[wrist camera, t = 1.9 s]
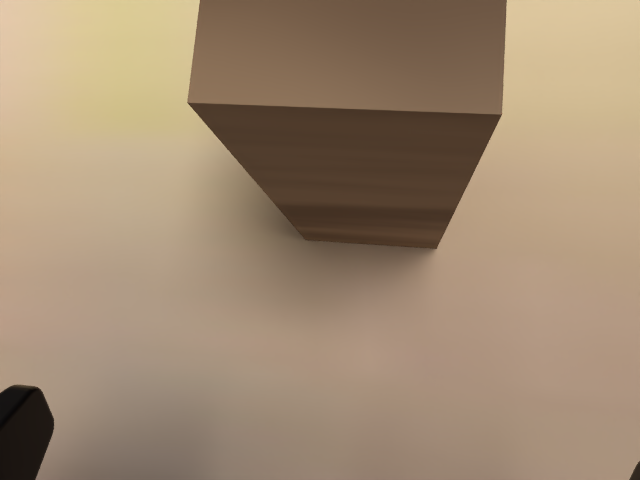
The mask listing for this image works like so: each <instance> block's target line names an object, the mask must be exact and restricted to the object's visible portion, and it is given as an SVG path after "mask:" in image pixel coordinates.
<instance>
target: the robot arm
mask: <svg viewBox="0 0 640 480" xmlns="http://www.w3.org/2000/svg"><path fill="white" fill-rule="evenodd" d="M53 430H54V418H53V416H52V413H51V411H50V409H49V406H48V404H47V402H46V399H45V397H44V394H43V392H42V391H41V389H39V388H38V387H35V386H26V385H13V386H10V387H8V388H7V389H5V390H4V391H2V392H1V393H0V480H35V479H36V476H37V474H38V471H39V469H40V466H41V463H42V461H43V458H44V455H45V453H46V450H47V447H48V445H49V442H50V439H51V437H52V434H53ZM629 480H640V461H639V462H638V464H637V465H636V467H635V469H634V471H633V473H632V475H631V477H630V479H629Z"/></svg>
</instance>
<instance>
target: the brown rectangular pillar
mask: <svg viewBox="0 0 640 480" xmlns="http://www.w3.org/2000/svg"><path fill="white" fill-rule="evenodd" d="M506 2H507V0H200V5H199V13H198V21H197V29H196V37H195V45H194V53H193V61H192V70H191V78H190V86H189V94H188V102H187V103H188V104H189V105H190V106H191V107H192V109H193V110H194V111H195V112H196V113H197V114H198V115H199V117H200V118H201V119H202V120H203V121H204V122H205V124H206V125H207V126H208V127H209V128H210V129H211V131H212V132H213V133H214V134H215V135H216V136H217V137H218V139H219V140H220V141H221V142H222V143H223V144H224V146H225V147H226V148H227V149H228V150H229V151H230V153H231V154H232V155H233V156H234V157H235V158H236V159H237V161H238V162H239V163H240V164H241V165H242V166H243V168H244V169H245V170H246V171H247V172H248V173H249V175H250V176H251V177H252V178H253V179H254V180H255V182H256V183H257V184H258V185H259V186H260V187H261V188H262V190H263V191H264V192H265V193H266V194H267V195H268V197H269V198H270V199H271V200H272V201H273V202H274V204H275V205H276V206H277V207H278V208H279V209H280V210H281V212H282V213H283V214H284V215H285V216H286V217H287V219H288V220H289V221H290V222H291V223H292V224H293V226H294V227H295V228H296V229H297V230H298V231H299V232H300V234H301V235H302V236H303V237H304V238H305V239H306V240H314V241H329V242H344V243H359V244H374V245H390V246H405V247H420V248H435V249H437V247H438V244H439V242H440V240H441V238H442V236H443V234H444V232H445V230H446V228H447V226H448V224H449V222H450V220H451V218H452V216H453V214H454V212H455V210H456V208H457V206H458V203H459V201H460V199H461V197H462V195H463V193H464V191H465V189H466V187H467V185H468V183H469V181H470V179H471V177H472V175H473V173H474V171H475V169H476V167H477V165H478V162H479V160H480V158H481V156H482V154H483V152H484V150H485V148H486V146H487V144H488V142H489V140H490V138H491V136H492V134H493V132H494V130H495V128H496V126H497V124H498V121H499V119H500V117H501V115H502V100H503V75H504V51H505V27H506Z"/></svg>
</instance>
